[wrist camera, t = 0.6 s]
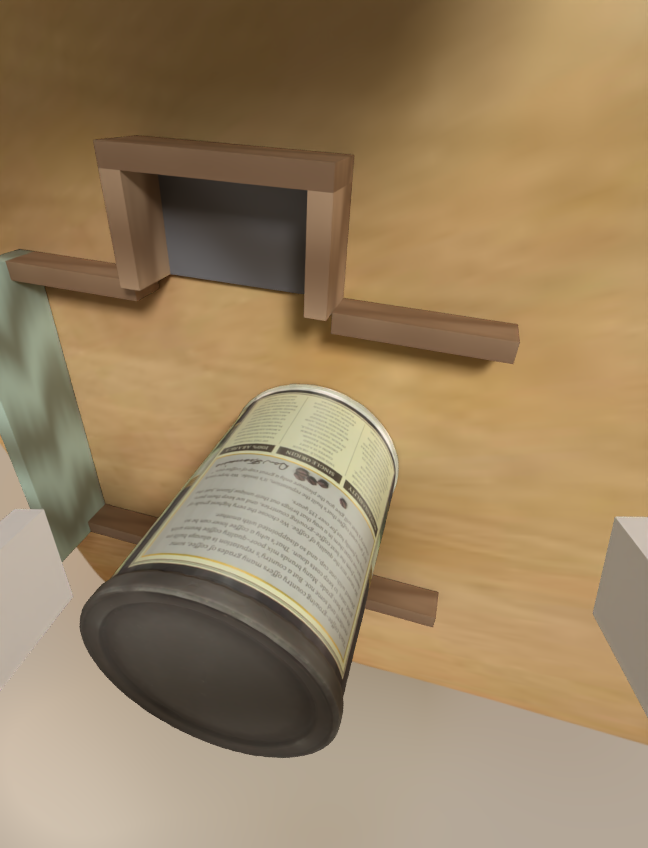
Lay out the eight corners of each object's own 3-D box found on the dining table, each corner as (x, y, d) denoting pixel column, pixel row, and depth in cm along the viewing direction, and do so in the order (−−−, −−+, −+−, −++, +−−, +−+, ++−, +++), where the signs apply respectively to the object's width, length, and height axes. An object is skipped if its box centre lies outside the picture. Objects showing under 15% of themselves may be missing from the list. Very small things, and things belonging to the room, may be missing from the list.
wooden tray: (-19, 121, 23) (-124, 125, 19) (562, 173, 18) (582, 194, 14) (111, 560, 42) (71, 609, 38) (421, 651, 36) (412, 719, 32)
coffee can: (405, 529, 30) (354, 785, 19) (254, 514, 33) (133, 726, 22) (395, 381, 25) (314, 615, 14) (216, 380, 28) (31, 570, 17)
